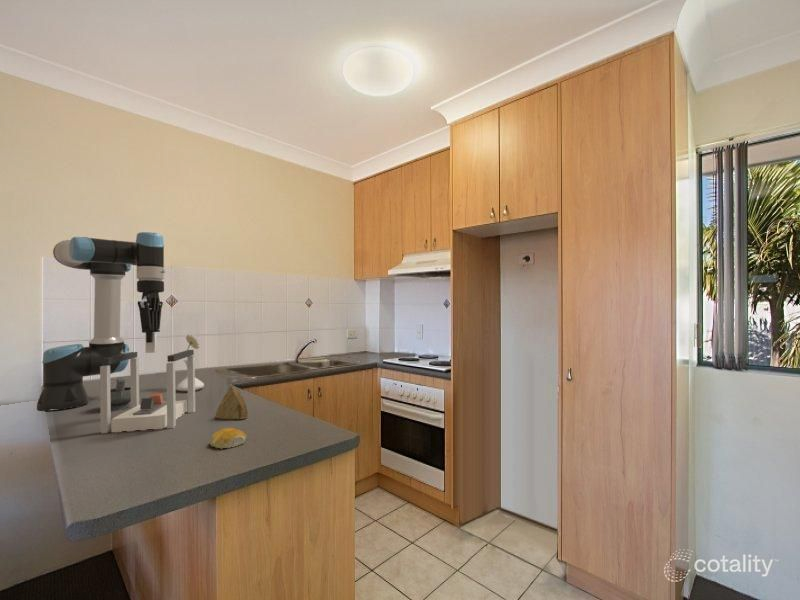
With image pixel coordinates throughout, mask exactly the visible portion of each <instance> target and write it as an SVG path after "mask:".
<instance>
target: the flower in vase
mask: <svg viewBox="0 0 800 600" xmlns="http://www.w3.org/2000/svg"><path fill="white" fill-rule="evenodd" d="M185 339H186V342H187V343H188V346H187V349H186V350H190V349H189V348H190V347H191V348H192V349H195V350H198V349H199V348H200V343H198V340H197V338H195V337H194V336H193V335H192V334H191V335H190V334H187V335H186V337H185ZM195 361H197V359H196V358H195ZM183 362H184V363H185V365H186V366H187V358H185V359H183ZM204 387H205V383H204V382H203V381H202V380H200V379H198V378H197V377H195V391H197V390H201V389H203V388H204ZM175 390H177V391H179V392H188V372H187V371H186V377H185V378H184V379H183V380H181V381H180V382H179V383H178V384H177V385H175Z"/></svg>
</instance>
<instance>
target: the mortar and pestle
mask: <svg viewBox="0 0 800 600" xmlns="http://www.w3.org/2000/svg"><path fill="white" fill-rule="evenodd" d="M115 381H116V386H115V388H110V398H111V411H113V410H114V411H120V410H119V409H122V410H125V409H124V408H126V409H128V408H127V407H129V408H130V403H131V386H129V387H128V386H125V382H126V377H124V376H123V377H117V378H116V380H115Z"/></svg>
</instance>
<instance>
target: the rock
mask: <svg viewBox="0 0 800 600" xmlns="http://www.w3.org/2000/svg"><path fill="white" fill-rule="evenodd" d="M214 419H219V420H244V419H248V410H247V405H246V403H245V400H244V397H243V395H241V392H240V391H239V390H238V389H237V388H236V387H234V386H229V388H228V389H227V391H226V393H225V394H224V396H223V398H222V400H221V401H220V404H219V406H218V407H217V410H216V412H215V415H214Z"/></svg>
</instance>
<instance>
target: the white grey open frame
mask: <svg viewBox="0 0 800 600" xmlns="http://www.w3.org/2000/svg"><path fill="white" fill-rule="evenodd" d="M186 359H187V365H186V373H187V372H188V391H187V399H185V400H176V361H174V362H166V366H165V367H166V369H165V370H166V401H163V402H162V404H153V409H143V410H142V409H140V406H141V403H140V379H139V378H140V371H139V370H140V369H139V368H140V367H139V366H140V364H139V363H140V362H139V357H136V358H132V359H129V360H130V364H129V366H130V370H129V371H130V372H129V373H130V387H131V401H130V409H128V410H127V411H124V412H123V413H120V414H119V415H116V416H114V417H113V418H111V417H112V416H111V415H112V413H111V412H112V410H111V398H110V389H111V374H110V365H108V366H100V375H99V386H100V387H99V391H100V393H99V395H100V396H99V398H100V399H99V400H100V406H99V408H100V413H99V414H100V434H107V433H109V432H111V433H113V432H114V433H123V432H122V431H127V432H136V431H135V430H141V431H147V430H146V429H154V430H164V429H165V428H166V429H174V428H176V427H177V419H178V417H179V418H180V417H181V416H183V415H184V414H186V413H187V412H188V414H189V413H191V414H192V413H193V412H194V413H195V412H196V390H195V378H196V375H195V374H196V372H195V371H196V370H195V369H196V368H195V367H196V366H195V365H196V364H195V363H196V360H195V359H196V358H195V355H192V356H189V357H186ZM185 412H186V413H185ZM182 414H183V415H182ZM175 426H176V427H175ZM163 428H164V429H163Z"/></svg>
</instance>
